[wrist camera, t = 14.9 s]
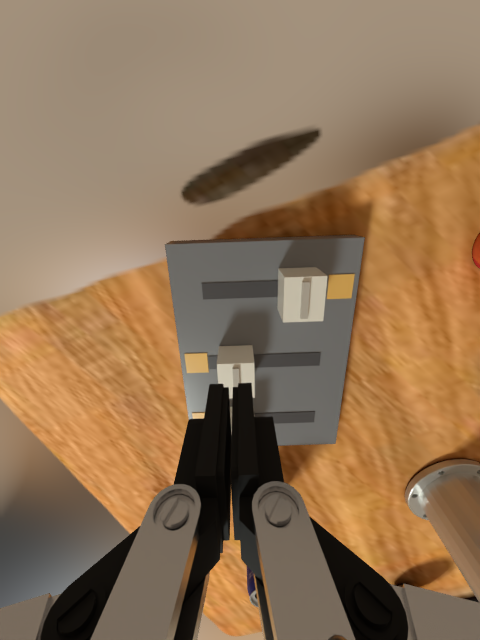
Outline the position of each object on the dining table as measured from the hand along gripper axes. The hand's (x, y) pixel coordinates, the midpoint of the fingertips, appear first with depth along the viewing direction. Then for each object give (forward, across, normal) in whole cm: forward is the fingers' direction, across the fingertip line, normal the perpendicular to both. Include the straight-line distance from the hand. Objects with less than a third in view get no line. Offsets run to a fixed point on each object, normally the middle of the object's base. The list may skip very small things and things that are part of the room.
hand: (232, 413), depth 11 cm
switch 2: (+16, -6, 0) cm, 17 cm away
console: (+19, -3, +8) cm, 21 cm away
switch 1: (+16, 0, +8) cm, 18 cm away
